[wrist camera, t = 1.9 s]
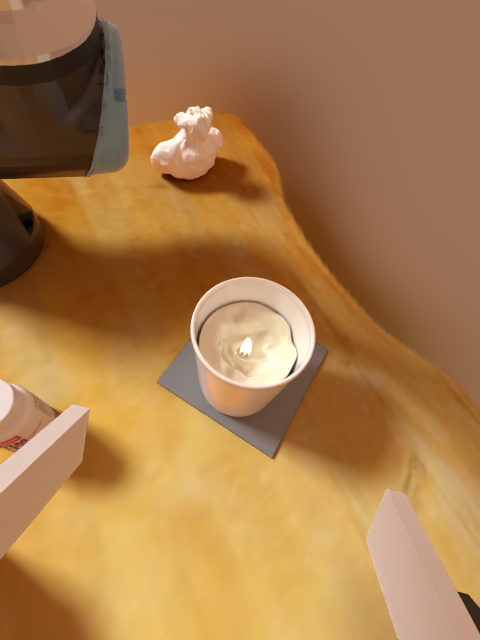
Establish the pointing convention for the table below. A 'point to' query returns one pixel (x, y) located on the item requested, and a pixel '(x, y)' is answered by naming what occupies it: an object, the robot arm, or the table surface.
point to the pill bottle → (21, 416)
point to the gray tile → (255, 428)
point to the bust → (189, 146)
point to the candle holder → (249, 343)
